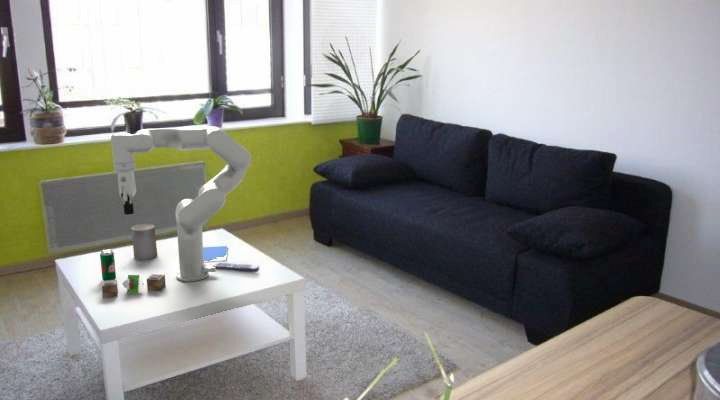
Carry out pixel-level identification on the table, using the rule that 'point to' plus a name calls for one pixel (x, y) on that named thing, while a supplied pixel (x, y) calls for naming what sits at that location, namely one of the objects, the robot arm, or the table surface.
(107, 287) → the marked block 1
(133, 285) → the geometric puzzle
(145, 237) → the pillar candle
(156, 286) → the marked block 2
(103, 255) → the soda can
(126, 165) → the robot arm
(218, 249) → the tablet computer
